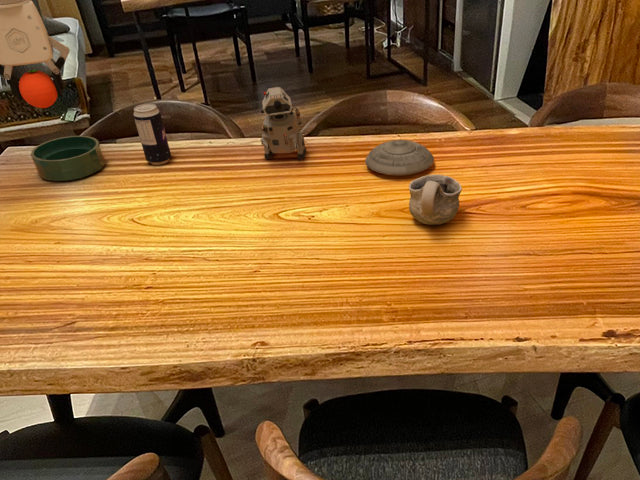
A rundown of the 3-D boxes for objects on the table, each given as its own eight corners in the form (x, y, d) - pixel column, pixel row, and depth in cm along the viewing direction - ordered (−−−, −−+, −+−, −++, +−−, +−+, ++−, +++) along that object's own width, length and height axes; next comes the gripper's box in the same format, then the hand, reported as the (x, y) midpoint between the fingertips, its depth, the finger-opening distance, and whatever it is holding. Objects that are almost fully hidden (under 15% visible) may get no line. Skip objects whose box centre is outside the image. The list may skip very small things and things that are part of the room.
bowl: (37, 187, 134) (28, 165, 131) (42, 162, 144) (33, 141, 141) (106, 176, 137) (98, 154, 134) (105, 153, 147) (98, 132, 144)
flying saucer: (378, 149, 144) (377, 125, 140) (441, 156, 140) (442, 131, 136) (355, 176, 133) (354, 151, 130) (422, 184, 129) (423, 158, 126)
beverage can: (173, 163, 142) (160, 109, 134) (148, 168, 140) (132, 113, 132) (170, 154, 146) (156, 101, 138) (145, 158, 144) (130, 105, 136)
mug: (458, 208, 121) (462, 158, 114) (461, 241, 112) (464, 188, 105) (409, 208, 122) (409, 158, 115) (407, 241, 112) (407, 188, 106)
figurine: (259, 171, 137) (247, 100, 127) (270, 150, 145) (260, 82, 135) (299, 171, 136) (291, 100, 126) (308, 150, 145) (301, 82, 135)
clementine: (29, 102, 130) (14, 65, 125) (63, 98, 132) (51, 61, 127) (25, 114, 124) (10, 77, 120) (61, 110, 126) (48, 72, 121)
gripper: (-52, 4, 110) (-8, 107, 122) (52, -6, 114) (85, 96, 126) (-44, -4, 116) (-3, 95, 127) (55, -13, 119) (86, 85, 131)
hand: (41, 95), depth 126 cm, fingers closed on clementine, 7 cm apart
